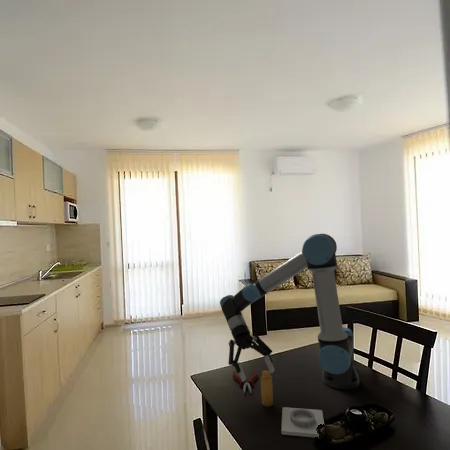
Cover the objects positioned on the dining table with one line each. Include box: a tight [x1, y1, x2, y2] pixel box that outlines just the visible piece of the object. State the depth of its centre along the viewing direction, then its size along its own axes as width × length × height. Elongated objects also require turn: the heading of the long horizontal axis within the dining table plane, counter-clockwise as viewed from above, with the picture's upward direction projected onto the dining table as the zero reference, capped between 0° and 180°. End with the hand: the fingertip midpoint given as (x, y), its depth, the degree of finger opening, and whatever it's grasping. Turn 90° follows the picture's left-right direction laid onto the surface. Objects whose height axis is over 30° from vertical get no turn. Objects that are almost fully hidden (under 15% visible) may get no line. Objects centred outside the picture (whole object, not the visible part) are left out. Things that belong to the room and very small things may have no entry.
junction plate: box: [281, 406, 325, 439], centre depth 109 cm, size 14×14×3 cm
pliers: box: [232, 369, 259, 395], centre depth 139 cm, size 12×20×3 cm, turn 0°
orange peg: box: [260, 369, 274, 407], centre depth 123 cm, size 4×4×12 cm
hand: (259, 376), depth 126 cm, fingers open, 13 cm apart
